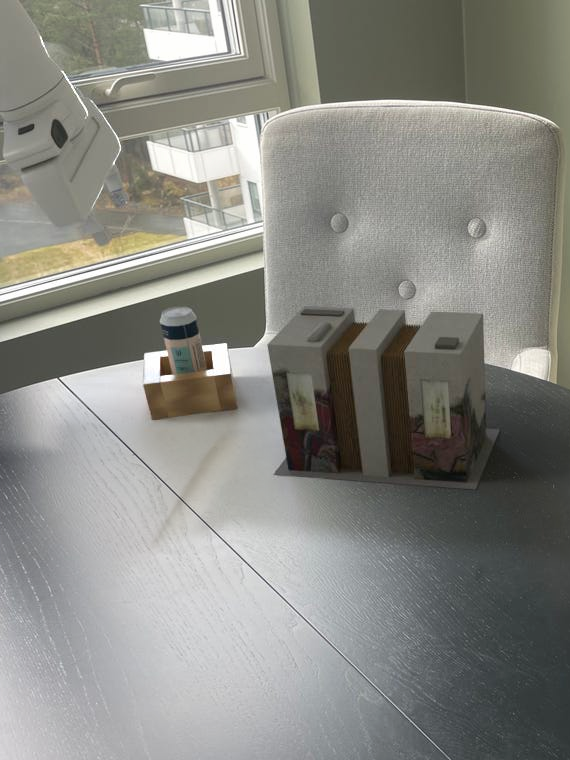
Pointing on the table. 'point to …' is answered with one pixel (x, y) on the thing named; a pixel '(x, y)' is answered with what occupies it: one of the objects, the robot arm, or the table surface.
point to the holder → (189, 385)
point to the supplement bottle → (182, 340)
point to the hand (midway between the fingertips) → (115, 222)
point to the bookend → (382, 397)
